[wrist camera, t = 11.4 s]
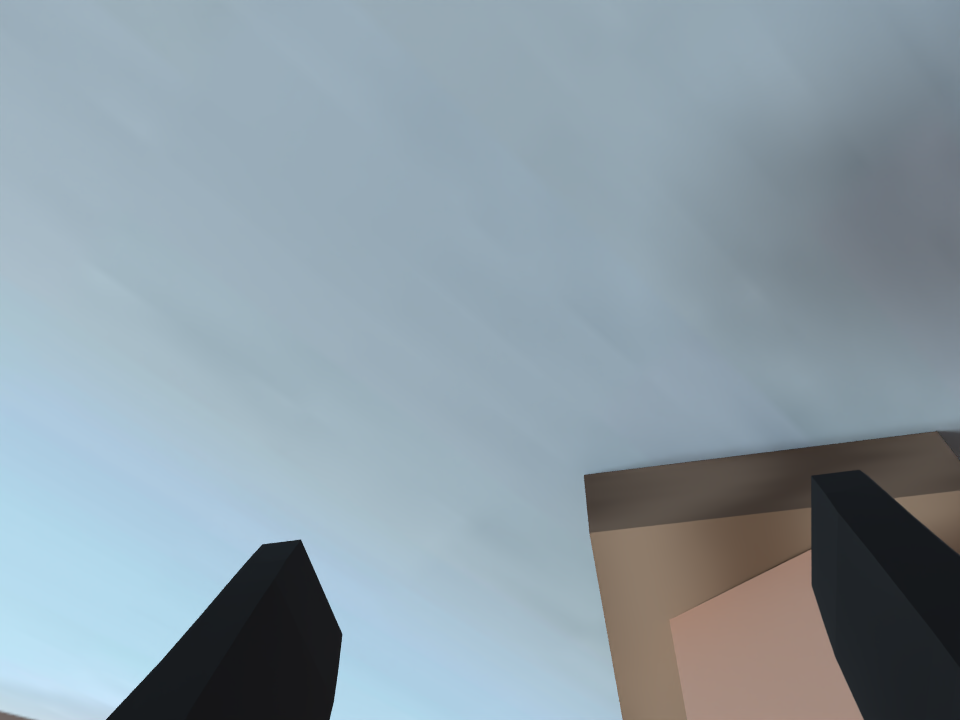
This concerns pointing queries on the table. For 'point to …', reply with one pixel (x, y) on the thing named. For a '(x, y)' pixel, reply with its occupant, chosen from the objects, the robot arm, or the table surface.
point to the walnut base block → (729, 538)
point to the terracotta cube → (761, 653)
